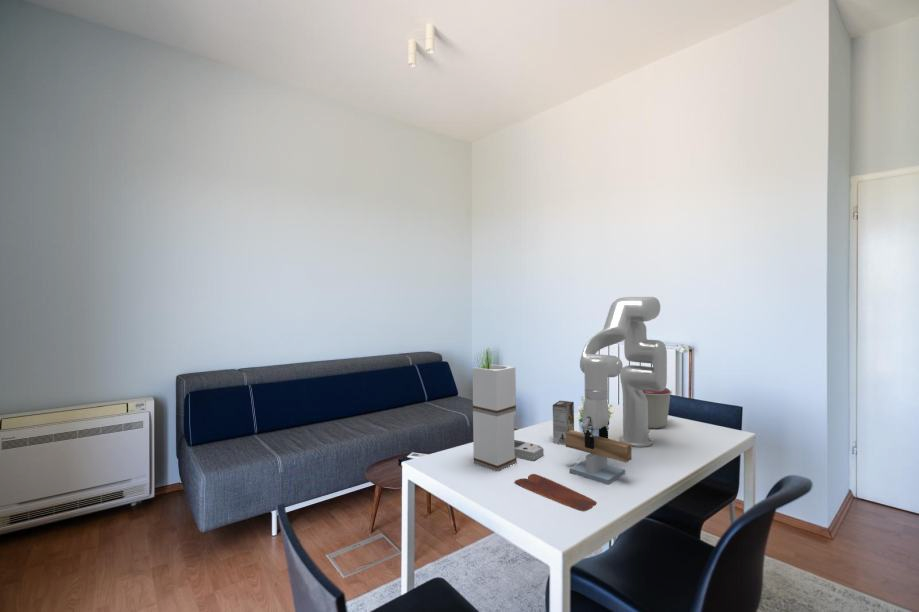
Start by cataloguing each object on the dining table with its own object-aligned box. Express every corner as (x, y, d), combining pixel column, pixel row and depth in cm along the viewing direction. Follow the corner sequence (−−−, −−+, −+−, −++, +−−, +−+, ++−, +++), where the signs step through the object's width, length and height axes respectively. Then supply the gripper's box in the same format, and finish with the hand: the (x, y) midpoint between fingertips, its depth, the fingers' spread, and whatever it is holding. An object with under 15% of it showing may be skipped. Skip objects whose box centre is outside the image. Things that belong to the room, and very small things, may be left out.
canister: (654, 433, 187) (654, 385, 187) (621, 423, 203) (620, 379, 203) (680, 427, 196) (680, 381, 196) (646, 418, 212) (646, 375, 212)
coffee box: (559, 437, 185) (559, 400, 184) (574, 439, 181) (574, 401, 181) (552, 443, 177) (552, 404, 177) (568, 445, 173) (567, 406, 173)
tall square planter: (516, 463, 156) (515, 367, 155) (497, 471, 148) (496, 370, 148) (492, 455, 164) (491, 364, 163) (473, 463, 156) (472, 367, 156)
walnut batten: (571, 443, 155) (571, 430, 155) (631, 459, 139) (631, 444, 139) (565, 446, 152) (565, 432, 152) (626, 462, 136) (626, 447, 136)
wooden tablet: (512, 484, 139) (512, 479, 139) (532, 476, 145) (532, 471, 145) (581, 515, 118) (581, 509, 118) (602, 504, 125) (602, 498, 125)
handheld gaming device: (534, 462, 157) (534, 452, 157) (500, 454, 166) (500, 444, 166) (545, 455, 164) (545, 445, 164) (512, 448, 173) (512, 438, 173)
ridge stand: (587, 462, 155) (586, 443, 155) (624, 473, 145) (624, 453, 145) (569, 472, 146) (569, 452, 146) (608, 484, 136) (608, 462, 136)
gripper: (598, 388, 154) (598, 436, 154) (572, 396, 142) (573, 448, 142) (618, 391, 149) (618, 440, 149) (593, 400, 137) (594, 453, 137)
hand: (596, 444), depth 146 cm, fingers open, 9 cm apart
